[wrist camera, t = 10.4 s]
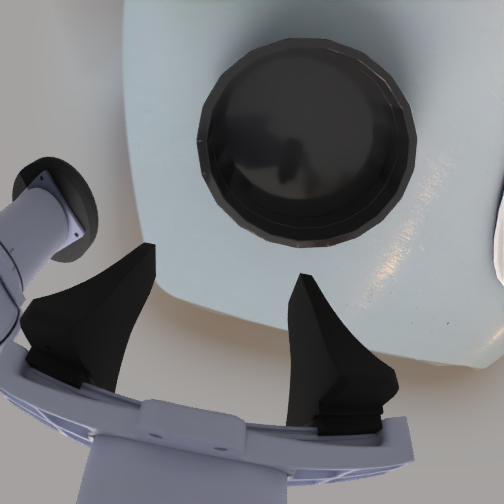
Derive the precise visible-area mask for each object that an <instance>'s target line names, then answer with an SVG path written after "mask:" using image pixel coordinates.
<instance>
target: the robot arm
mask: <svg viewBox="0 0 504 504" xmlns="http://www.w3.org/2000/svg"><path fill="white" fill-rule="evenodd" d="M84 234H85V231H84V229H83V228H82V226H81V225H80V223H79V222H78V220H77V219H76V217H75V216H74V214H73V212H72V211H71V209H70V208H69V206H68V204H67V203H66V201H65V200H64V198H63V196H62V195H61V193H60V191H59V189H58V188H57V186H56V184H55V183H54V181H53V179H52V177H51V176H50V174H49V172H48V171H47V170H44V171H43V172H41V173H40V174H39V175H38V176H37V177H36V179H35V180H34V181H33V182H32V183H31V184H30V185H29V186H28V187H27V188H26V189H25V190H24V191H23V192H22V193H21V194H20V196H19V197H18V198H17V199H16V200H15V201H14V202H12V203H11V204H10V205H9V206H7V207H6V208H5V209H3V210H2V211H1V212H0V393H1V394H2V395H3V396H4V397H5V398H6V399H7V400H8V401H9V402H10V403H12V404H13V405H15V406H16V407H18V408H19V409H21V410H22V411H24V412H25V413H27V414H29V415H30V416H32V417H34V418H35V419H37V420H39V421H40V422H42V423H44V424H45V425H47V426H49V427H51V428H52V429H54V430H56V431H58V432H60V433H61V434H63V435H65V436H67V437H69V438H71V439H73V440H75V441H77V442H79V443H81V444H83V445H85V446H88V447H90V448H91V449H90V453H89V456H88V460H87V463H86V467H85V471H84V474H83V478H82V482H81V486H80V490H79V494H78V498H77V503H76V504H287V487H288V486H306V485H318V484H327V483H335V482H342V481H350V480H356V479H361V478H367V477H374V476H379V475H384V474H386V473H388V472H391V471H394V470H396V469H398V468H400V467H403V466H405V465H407V464H409V463H411V462H413V461H414V455H413V449H412V443H411V438H410V433H409V428H408V423H407V418H406V417H405V416H404V417H394V418H387V419H384V420H381V416H380V415H381V414H383V407H382V406H383V405H384V404H385V403H387V402H388V401H389V400H390V399H391V398H393V397H394V395H395V394H396V393H397V391H398V390H399V385H398V381H397V377H396V374H395V371H394V369H392V368H391V367H389V366H388V365H387V364H385V363H384V362H382V361H381V360H380V359H378V358H377V357H375V355H373V354H372V353H371V352H370V351H369V350H368V349H367V348H365V347H364V346H363V345H362V344H361V343H360V342H359V341H358V340H357V339H356V338H355V337H354V336H353V335H352V333H351V332H350V331H349V330H348V329H347V328H346V326H345V325H344V324H343V323H342V321H341V320H340V319H339V317H338V316H337V315H336V313H335V312H334V311H333V309H332V308H331V306H330V305H329V303H328V301H327V300H326V298H325V297H324V295H323V293H322V292H321V290H320V288H319V287H318V285H317V283H316V282H315V280H314V278H313V277H312V275H307V274H302V273H300V275H299V277H298V280H297V282H296V285H295V287H294V290H293V292H292V295H291V297H290V300H289V302H288V330H289V342H290V353H291V377H290V393H289V403H288V414H287V421H286V426H275V425H262V424H253V423H245V422H244V420H242V419H240V418H238V417H236V416H233V415H230V414H226V413H220V412H214V411H208V410H203V409H198V408H193V407H188V406H183V405H179V404H175V403H170V402H166V401H161V400H154V399H151V400H145V401H143V402H141V401H138V400H135V399H131V398H128V397H125V396H121V395H119V394H115V389H116V384H117V379H118V375H119V371H120V367H121V363H122V360H123V356H124V353H125V349H126V346H127V343H128V340H129V337H130V334H131V332H132V329H133V327H134V325H135V323H136V320H137V318H138V316H139V314H140V312H141V310H142V308H143V306H144V304H145V302H146V300H147V298H148V296H149V294H150V291H151V289H152V286H153V283H154V280H155V277H156V251H155V244H150V243H145V242H144V243H143V244H141V245H140V246H138V247H137V248H136V249H134V250H133V251H132V252H130V253H129V254H128V255H126V256H125V257H123V258H122V259H121V260H119V261H118V262H116V263H115V264H113V265H112V266H110V267H109V268H108V269H106V270H104V271H103V272H101V273H100V274H98V275H96V276H94V277H93V278H91V279H89V280H87V281H85V282H83V283H80V284H78V285H76V286H74V287H72V288H69V289H67V290H64V291H61V292H58V293H55V294H52V295H49V296H45V297H41V298H37V299H33V301H32V302H31V303H30V305H29V306H28V307H27V309H26V310H25V312H24V313H22V310H21V308H20V307H21V306H22V304H23V303H24V301H25V297H24V295H23V291H24V290H25V289H26V287H27V286H28V285H29V284H30V282H31V281H32V280H33V279H34V277H35V276H36V275H37V274H38V273H39V271H40V270H41V269H42V268H43V266H44V265H45V264H46V263H47V262H48V261H49V259H50V258H51V257H52V256H53V255H54V254H55V253H56V252H58V251H60V250H61V249H63V248H65V247H66V246H68V245H69V244H71V243H73V242H74V241H76V240H78V239H79V238H81V237H83V235H84ZM20 328H21V329H22V330H23V332H24V334H25V336H26V338H27V340H28V341H29V343H30V345H31V346H32V347H31V349H30V351H28V350H27V349H25V348H24V347H23V346H21V345H19V344H17V343H15V342H14V341H15V339H16V337H17V336H18V334H19V331H20Z"/></svg>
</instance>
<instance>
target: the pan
mask: <svg viewBox="0 0 504 504" xmlns="http://www.w3.org/2000/svg"><path fill="white" fill-rule="evenodd" d="M416 146H417V135H416V130H415V126H414V121H413V117H412V113H411V109H410V106H409V104H408V102H407V100H406V99H405V97H404V95H403V94H402V92H401V91H400V89H399V87H398V86H397V84H396V83H395V81H394V80H393V78H392V77H391V76H390V74H388V73H387V72H386V71H385V70H384V69H383V68H381V67H380V66H379V65H378V64H377V63H375V62H374V61H373V60H372V59H370V58H369V57H368V56H367V55H365V54H364V53H362V52H360V51H358V50H355V49H353V48H350V47H348V46H345V45H342V44H339V43H337V42H334V41H331V40H326V39H313V38H288V39H284V40H281V41H278V42H275V43H272V44H269V45H266V46H263V47H260V48H258V49H255V50H252V51H251V52H249V53H248V54H246V55H245V56H244V57H242V58H241V59H240V60H239V61H237V62H236V63H235V64H234V65H233V66H231V67H230V68H229V69H228V70H227V71H225V72H224V73H223V74H222V75H221V76H220V78H219V79H218V81H217V83H216V84H215V86H214V88H213V89H212V91H211V93H210V94H209V96H208V98H207V100H206V101H205V103H204V105H203V108H202V112H201V118H200V123H199V128H198V134H197V149H198V155H199V161H200V167H201V173H202V176H203V178H204V180H205V182H206V184H207V186H208V188H209V190H210V192H211V193H212V195H213V197H214V199H215V201H216V203H217V204H218V205H219V206H220V207H221V208H222V209H223V210H224V211H225V212H226V213H227V214H228V215H229V216H230V217H231V218H232V219H233V220H234V221H235V222H236V223H237V224H238V225H239V226H240V227H242V228H244V229H246V230H248V231H249V232H251V233H253V234H255V235H257V236H259V237H260V238H262V239H264V240H266V241H269V242H273V243H277V244H282V245H286V246H291V247H295V248H297V247H298V248H313V247H329V246H333V245H336V244H339V243H342V242H345V241H348V240H351V239H355V238H357V237H359V236H360V235H362V234H363V233H365V232H366V231H368V230H369V229H371V228H373V227H374V226H376V225H377V224H379V223H380V222H381V221H383V220H384V218H385V217H386V216H387V215H388V214H389V213H390V211H391V210H392V209H393V208H394V207H395V206H396V204H397V203H398V202H399V201H400V200H401V197H403V194H404V192H405V190H406V188H407V185H408V183H409V181H410V178H411V176H412V173H413V171H414V167H415V157H416Z"/></svg>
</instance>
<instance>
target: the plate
mask: <svg viewBox="0 0 504 504" xmlns="http://www.w3.org/2000/svg"><path fill="white" fill-rule="evenodd" d="M493 263H494V267H495V272H496V276H497V278H498V279H499V280H500V282H501V283H502V284H503V286H504V190H503V194H502V197H501V201H500V204H499V208H498V212H497V219H496V225H495V230H494V236H493Z"/></svg>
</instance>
